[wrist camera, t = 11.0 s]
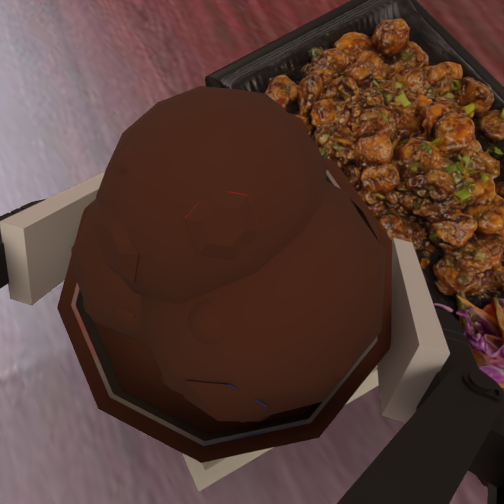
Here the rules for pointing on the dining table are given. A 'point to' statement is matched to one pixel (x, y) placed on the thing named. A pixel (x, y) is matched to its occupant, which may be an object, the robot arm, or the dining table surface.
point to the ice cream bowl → (226, 279)
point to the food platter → (405, 143)
